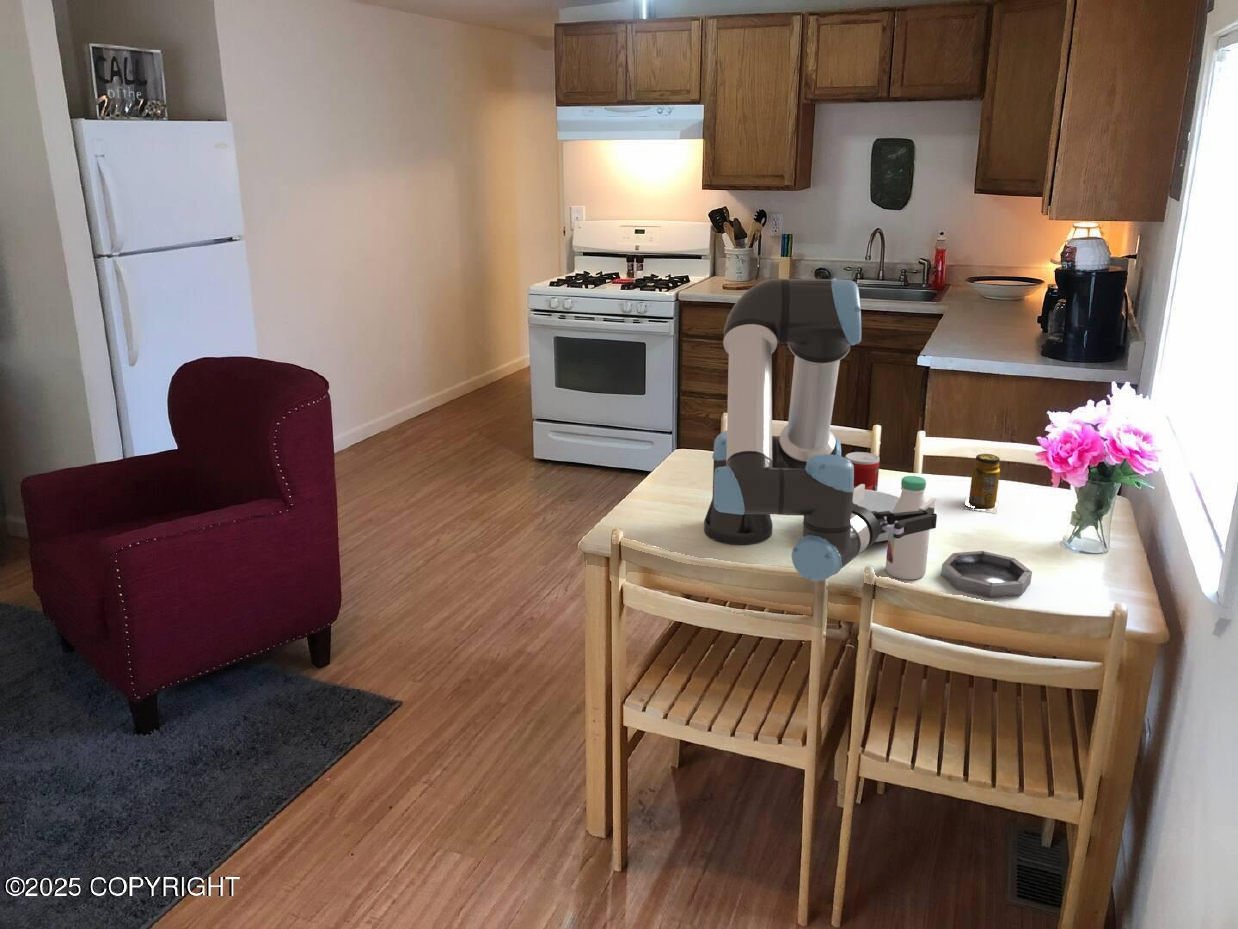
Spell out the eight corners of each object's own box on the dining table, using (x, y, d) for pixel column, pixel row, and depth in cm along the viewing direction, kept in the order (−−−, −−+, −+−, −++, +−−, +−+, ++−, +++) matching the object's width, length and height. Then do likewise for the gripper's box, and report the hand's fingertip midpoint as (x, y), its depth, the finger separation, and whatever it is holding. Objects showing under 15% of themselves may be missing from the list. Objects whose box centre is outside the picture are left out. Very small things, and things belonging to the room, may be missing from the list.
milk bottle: (931, 571, 193) (941, 478, 186) (914, 584, 187) (923, 488, 181) (896, 561, 198) (904, 469, 191) (878, 573, 192) (886, 479, 186)
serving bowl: (892, 561, 198) (895, 530, 196) (799, 539, 209) (800, 509, 207) (925, 528, 214) (927, 499, 212) (836, 509, 225) (838, 482, 223)
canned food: (879, 505, 227) (883, 461, 224) (845, 505, 227) (848, 461, 224) (872, 494, 235) (875, 451, 231) (839, 494, 235) (842, 451, 231)
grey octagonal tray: (933, 583, 188) (934, 571, 187) (958, 556, 199) (960, 545, 198) (1014, 604, 179) (1016, 592, 178) (1036, 575, 190) (1038, 563, 190)
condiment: (998, 501, 229) (1004, 454, 225) (996, 514, 222) (1002, 465, 218) (966, 497, 232) (971, 450, 228) (963, 509, 224) (968, 461, 220)
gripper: (783, 537, 171) (833, 503, 187) (920, 570, 157) (962, 530, 173) (785, 497, 169) (836, 466, 185) (924, 527, 155) (966, 491, 171)
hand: (897, 497), depth 179 cm, fingers open, 13 cm apart
